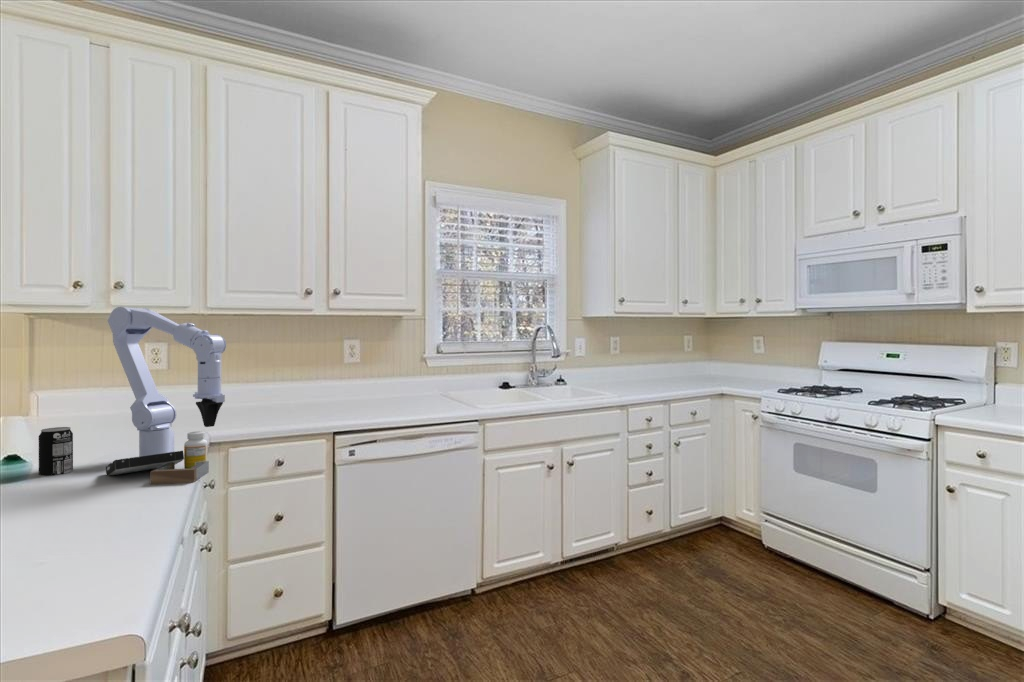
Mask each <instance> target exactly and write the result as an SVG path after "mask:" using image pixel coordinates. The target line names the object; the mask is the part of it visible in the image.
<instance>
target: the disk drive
mask: <svg viewBox="0 0 1024 682" xmlns="http://www.w3.org/2000/svg"><path fill="white" fill-rule="evenodd" d="M182 461H184V450H177V451H174V452H169V453H162V454H155V455H148V456H140V457H139V456H135V457H129V458H120V459H114V460H113V461H112V462H110V463H109V464H108V465H107V466H105V473H106V474H107V475H106V474H105V475H106V476H108V475H109V476H116V475H117V476H118V475H123V474H131V473H137V472H143V471H148V470H155V469H157V468H159V467H161V466H163V465H165V464H167V463H173V462H175V465H178V463H181V462H182Z"/></svg>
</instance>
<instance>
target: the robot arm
mask: <svg viewBox="0 0 1024 682" xmlns="http://www.w3.org/2000/svg"><path fill="white" fill-rule="evenodd" d="M107 323H108V325H109V328H110V330H111V333H112V343H113V346H114V349H115V351H116V353H117V356H118V358H119V360H120V361H119V362H120V363H121V366H122V368H123V372H124V373H125V375H126V376H125V377H126V378H127V381H128V383H129V385H130V388H131V391H132V393H133V395H134V398H135V400H134V402H132V403H131V404H130V405H131V406H130V407H129V408H130V412H131V421H132V424H133V426H134V427H135V428H136V430H137V431H138V436H139V437H138V443H139V445H138V449H139V450H138V453H139V454H138V455H139V456H138V457H140V456H148V455H155V454H162V453H169V452H175V432H174V430H173V428H171V427H172V423H173V422H175V420H176V418H177V410H176V408H175V406H174V405H172V404H171V403H170V400H169V399H168V397H167V396H165V395H163V394H161V393H160V392H159V391H158V388H157V386H156V383H155V380H154V379H153V376H152V374H151V371H150V369H149V366H148V364H147V361H146V358H145V356H144V354H143V352H142V351H143V350H142V349H141V346H140V345H139V342H140V341H141V340H142V339H144V338H145V336H146V335H147V334H148V333H149V332H150V331H151V329H152V328H154V329H156V330H159V331H162V332H165V333H166V334H168V335H171V336H172V337H173V340H174V341H175V342H177V343H179V344H181V345H183V346H186V347H187V348H190V349H192V351H194V353H195V356H196V357H195V358H196V361H197V391H195V392H194V394H192V397H193V398H194V399H195V400H200V401H196V402H195V405H196V406H197V408H198V410H199V412H200V414H201V420H202V422H203V426H204V427H205V428H211V427H215V425H216V421H217V417H218V413H219V411H220V409H221V407H222V406H223V404H224V403H225V402H226V399H225V398H226V397H225V394H224V393H222V354H223V353H224V352H225V351H226V348H227V342H226V340H225V338H224V337H223V336H221V335H220V334H219V333H218V334H217V333H215V334H210V332H209V330H206V329H204V330H203V329H201V328H198V327H196V325H195V324H194V323H192V322H184V323H180V324H179V323H177V322H176V321H173V320H172V319H169V318H168V317H166V316H165V315H162V314H160V313H158V312H157V311H155V310H151V309H149V308H137V307H136V308H135V307H134V308H133V307H124V306H117V307H114V308H113V310H111V312H110V315H109V317H108V319H107Z"/></svg>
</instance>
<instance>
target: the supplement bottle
mask: <svg viewBox="0 0 1024 682" xmlns="http://www.w3.org/2000/svg"><path fill="white" fill-rule="evenodd" d="M186 435H187V436H186V437H187V440H186V441H184V445H183V449H184V450H183V454H184V460H183V464H184V468H183V469H190V468H192V467H193V466H195V465H197V464H198V463H200V462H202V461H209V459H208V458H209V457H208V456H209V455H208V454H209V450H208V449H209V447H208V446H209V444H208V441H207V439H204V438H205V437H206V432H205V431H202V430H201V431H200V430H199V431H192V432H187V434H186Z"/></svg>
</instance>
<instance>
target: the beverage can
mask: <svg viewBox="0 0 1024 682" xmlns="http://www.w3.org/2000/svg"><path fill="white" fill-rule="evenodd" d="M73 471H74V433H73V431H72V430H71V427H70V426H57V427H48V428H42V429H41V430H40V433H39V435H38V475H39V476H42V477H44V476H45V477H49V476H50V477H51V476H61V475H65V474H69V473H72V472H73Z"/></svg>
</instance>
